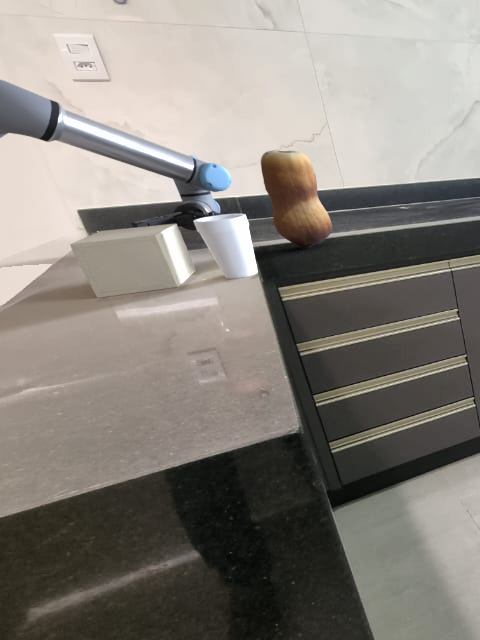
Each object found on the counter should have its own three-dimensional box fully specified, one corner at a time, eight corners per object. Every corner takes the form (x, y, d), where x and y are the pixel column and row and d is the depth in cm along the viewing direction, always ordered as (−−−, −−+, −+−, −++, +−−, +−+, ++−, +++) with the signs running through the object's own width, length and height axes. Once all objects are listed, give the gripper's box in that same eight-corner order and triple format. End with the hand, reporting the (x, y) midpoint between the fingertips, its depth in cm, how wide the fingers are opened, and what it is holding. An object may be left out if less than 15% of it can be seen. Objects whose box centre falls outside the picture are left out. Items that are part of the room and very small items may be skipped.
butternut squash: (344, 245, 146) (316, 148, 135) (290, 255, 138) (256, 153, 127) (327, 238, 155) (299, 147, 144) (275, 248, 146) (242, 151, 135)
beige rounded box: (124, 280, 122) (100, 231, 117) (196, 270, 127) (176, 223, 122) (96, 298, 110) (69, 244, 105) (178, 287, 115) (155, 235, 110)
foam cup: (209, 282, 117) (185, 223, 111) (226, 271, 125) (204, 216, 119) (258, 277, 119) (236, 219, 114) (271, 267, 127) (251, 212, 122)
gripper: (248, 223, 160) (233, 235, 142) (145, 233, 151) (116, 249, 133) (239, 197, 157) (222, 207, 139) (133, 207, 148) (102, 218, 130)
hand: (170, 227), depth 136 cm, fingers open, 13 cm apart
